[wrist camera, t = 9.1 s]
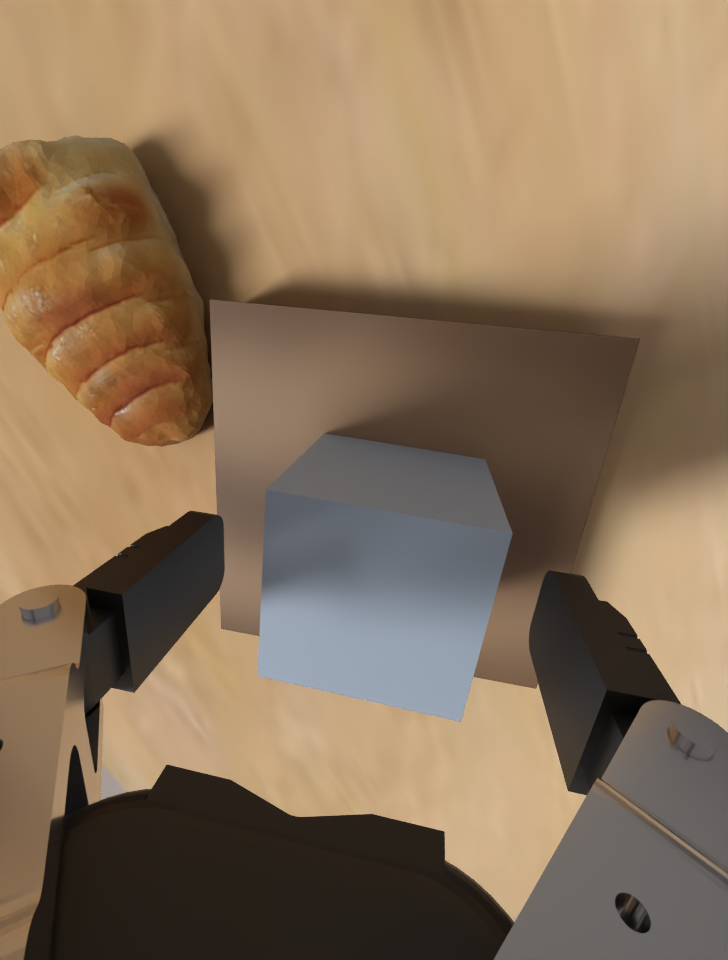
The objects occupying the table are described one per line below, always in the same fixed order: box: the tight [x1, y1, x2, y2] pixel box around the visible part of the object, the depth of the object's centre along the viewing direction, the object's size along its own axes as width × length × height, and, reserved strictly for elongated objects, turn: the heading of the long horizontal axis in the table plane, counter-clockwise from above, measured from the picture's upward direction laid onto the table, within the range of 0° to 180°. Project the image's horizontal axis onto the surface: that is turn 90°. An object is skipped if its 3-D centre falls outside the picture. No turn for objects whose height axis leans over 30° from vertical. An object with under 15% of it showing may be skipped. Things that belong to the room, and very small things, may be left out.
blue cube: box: [258, 433, 513, 722], centre depth 12 cm, size 5×5×5 cm
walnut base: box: [210, 300, 640, 689], centre depth 16 cm, size 12×12×3 cm
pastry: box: [0, 136, 213, 447], centre depth 14 cm, size 9×7×4 cm
